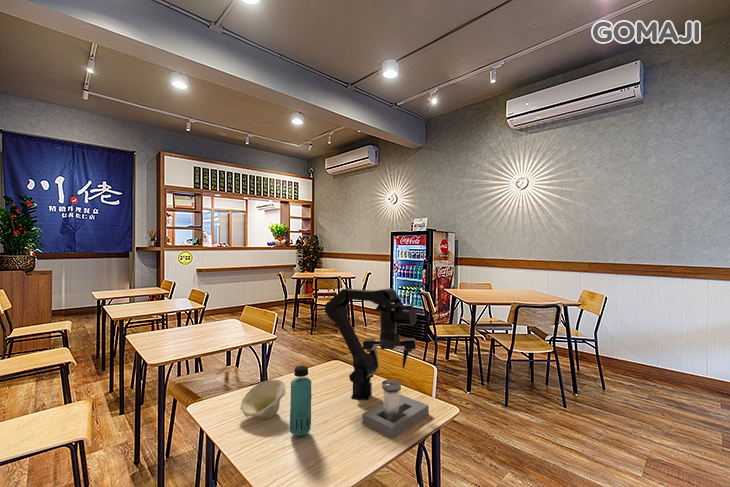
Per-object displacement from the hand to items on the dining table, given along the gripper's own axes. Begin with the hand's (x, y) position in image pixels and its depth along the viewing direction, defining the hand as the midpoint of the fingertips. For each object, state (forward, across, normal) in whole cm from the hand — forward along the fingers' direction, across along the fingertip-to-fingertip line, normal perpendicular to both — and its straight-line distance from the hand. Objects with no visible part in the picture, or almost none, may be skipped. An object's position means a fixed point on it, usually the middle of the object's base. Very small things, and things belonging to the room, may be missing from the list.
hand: (390, 368), depth 118 cm
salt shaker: (+14, 0, -12) cm, 18 cm away
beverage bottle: (+13, -26, -23) cm, 37 cm away
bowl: (+12, -41, -15) cm, 45 cm away
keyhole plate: (+14, +2, -8) cm, 16 cm away
